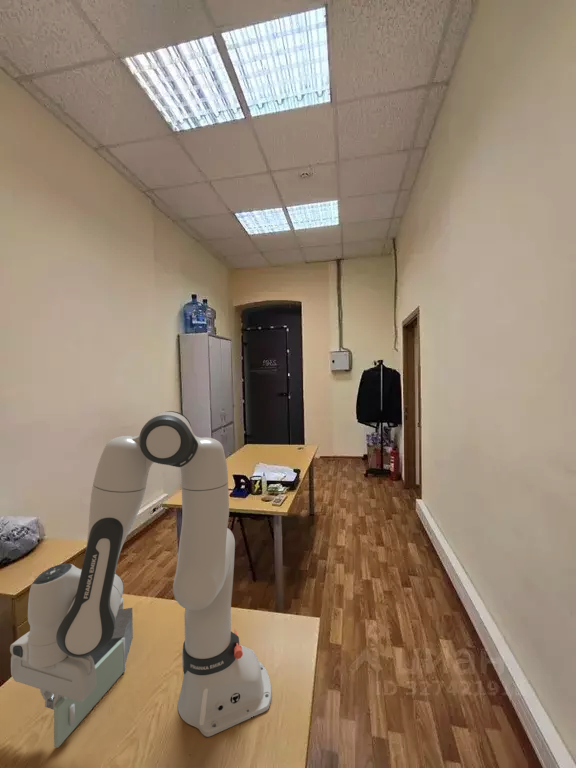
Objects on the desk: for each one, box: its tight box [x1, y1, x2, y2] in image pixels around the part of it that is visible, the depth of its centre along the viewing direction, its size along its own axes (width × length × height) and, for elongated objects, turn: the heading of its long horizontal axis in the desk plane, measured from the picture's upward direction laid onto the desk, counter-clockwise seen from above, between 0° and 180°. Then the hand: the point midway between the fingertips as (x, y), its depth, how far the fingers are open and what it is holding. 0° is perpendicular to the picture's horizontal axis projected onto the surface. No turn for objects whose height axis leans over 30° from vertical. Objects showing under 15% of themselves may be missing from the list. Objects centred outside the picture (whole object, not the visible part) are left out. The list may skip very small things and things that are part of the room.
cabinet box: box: [90, 607, 134, 665], centre depth 95 cm, size 14×12×10 cm
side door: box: [53, 637, 126, 748], centre depth 81 cm, size 20×2×8 cm, turn 165°
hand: (53, 706), depth 74 cm, fingers closed
